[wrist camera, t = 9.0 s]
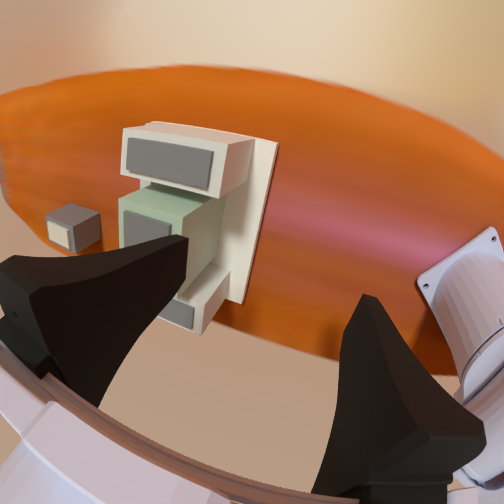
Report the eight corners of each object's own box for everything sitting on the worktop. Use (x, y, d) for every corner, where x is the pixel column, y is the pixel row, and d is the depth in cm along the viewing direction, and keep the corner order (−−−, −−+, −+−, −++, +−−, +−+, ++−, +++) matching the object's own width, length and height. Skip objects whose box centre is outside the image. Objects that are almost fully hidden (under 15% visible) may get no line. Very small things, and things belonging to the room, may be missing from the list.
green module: (227, 188, 20) (179, 219, 14) (217, 254, 23) (174, 302, 17) (174, 175, 21) (115, 200, 15) (168, 238, 23) (118, 277, 18)
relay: (100, 212, 26) (70, 227, 22) (101, 238, 27) (74, 255, 24) (71, 202, 27) (43, 215, 23) (73, 226, 28) (46, 241, 24)
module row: (279, 142, 18) (254, 150, 13) (244, 299, 25) (218, 345, 20) (156, 121, 20) (103, 127, 15) (148, 263, 27) (109, 297, 21)
